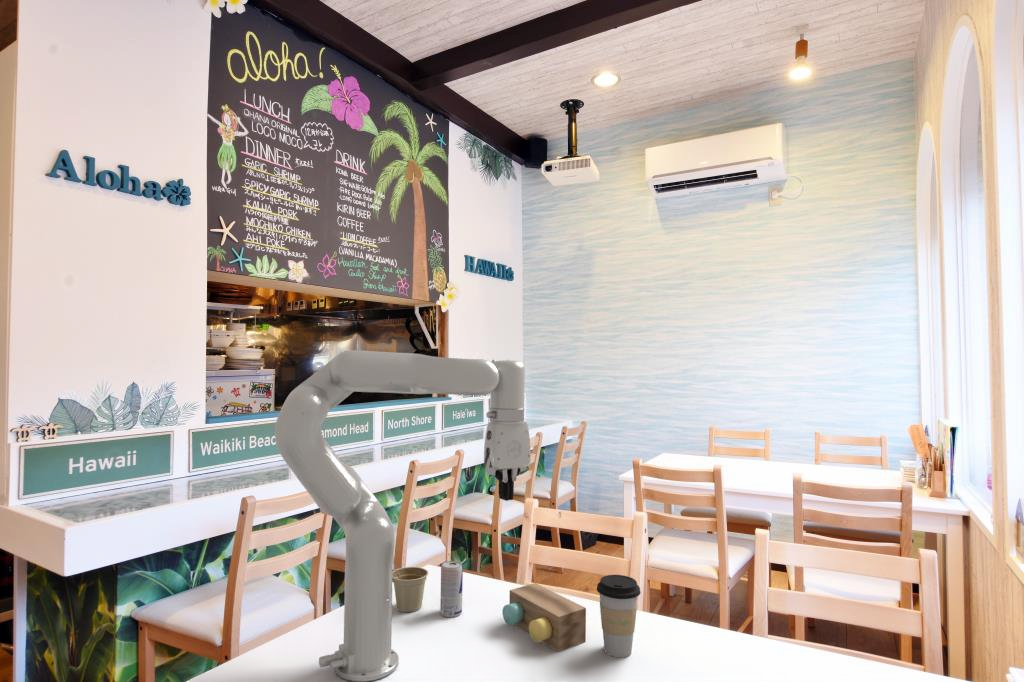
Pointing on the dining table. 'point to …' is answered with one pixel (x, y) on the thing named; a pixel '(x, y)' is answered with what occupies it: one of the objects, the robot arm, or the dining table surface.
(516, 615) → the knob
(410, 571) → the flower pot
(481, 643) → the dining table surface
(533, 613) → the block
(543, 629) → the knob
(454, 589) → the energy drink
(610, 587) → the coffee cup
